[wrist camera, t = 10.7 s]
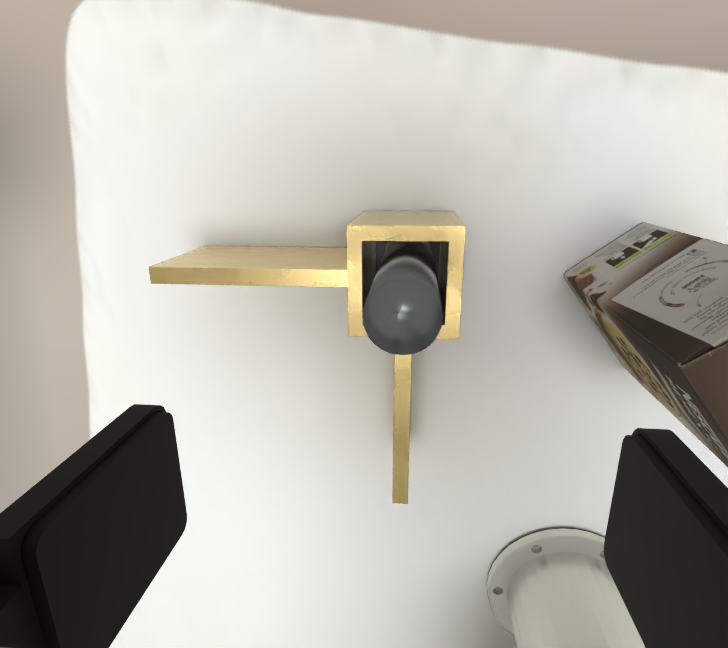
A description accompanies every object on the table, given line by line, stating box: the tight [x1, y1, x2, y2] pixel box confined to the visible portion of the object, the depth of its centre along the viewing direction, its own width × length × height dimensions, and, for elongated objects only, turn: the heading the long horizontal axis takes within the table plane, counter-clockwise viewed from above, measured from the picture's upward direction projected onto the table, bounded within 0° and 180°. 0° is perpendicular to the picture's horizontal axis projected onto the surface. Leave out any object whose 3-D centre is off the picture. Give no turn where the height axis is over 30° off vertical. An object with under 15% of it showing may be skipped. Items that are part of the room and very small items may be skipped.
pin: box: [362, 241, 443, 355], centre depth 27 cm, size 3×3×15 cm
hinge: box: [149, 211, 466, 504], centre depth 33 cm, size 18×18×9 cm
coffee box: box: [564, 223, 728, 467], centre depth 26 cm, size 9×6×16 cm
